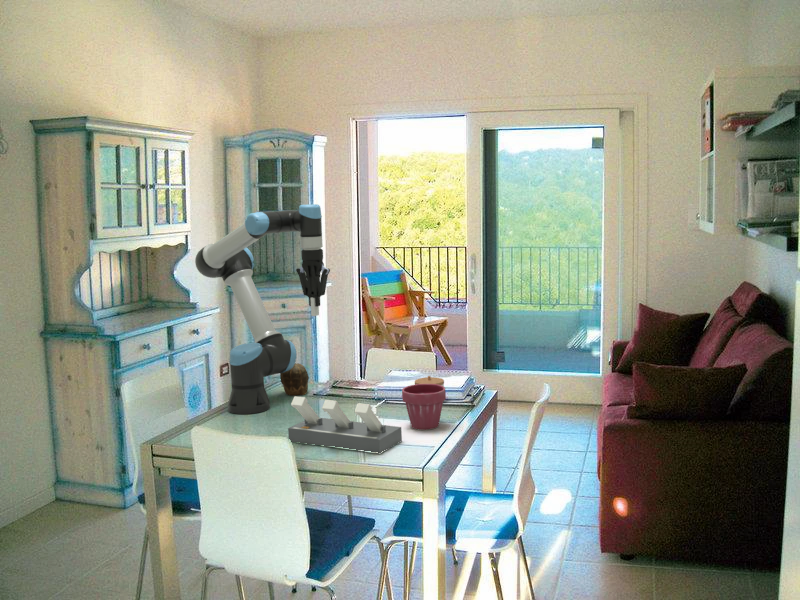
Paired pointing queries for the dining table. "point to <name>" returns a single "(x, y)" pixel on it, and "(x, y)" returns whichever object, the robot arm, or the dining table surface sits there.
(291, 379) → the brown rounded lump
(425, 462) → the dining table surface
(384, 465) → the dining table surface
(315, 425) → the breaker panel
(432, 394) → the plant pot
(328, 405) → the middle lever
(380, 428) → the right lever
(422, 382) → the lidded jar
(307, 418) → the lever
